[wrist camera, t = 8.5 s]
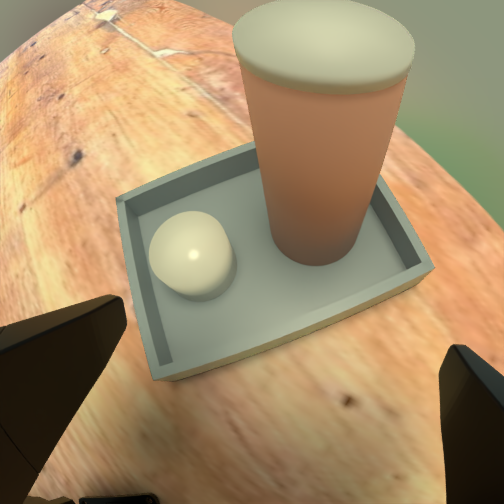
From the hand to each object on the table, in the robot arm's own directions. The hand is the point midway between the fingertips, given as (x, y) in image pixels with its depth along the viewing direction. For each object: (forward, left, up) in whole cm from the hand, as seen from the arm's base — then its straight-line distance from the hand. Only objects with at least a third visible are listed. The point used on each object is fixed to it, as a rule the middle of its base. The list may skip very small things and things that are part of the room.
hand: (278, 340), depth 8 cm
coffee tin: (+4, +7, -10) cm, 13 cm away
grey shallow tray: (+1, +7, -11) cm, 13 cm away
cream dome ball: (-3, +7, -10) cm, 13 cm away
